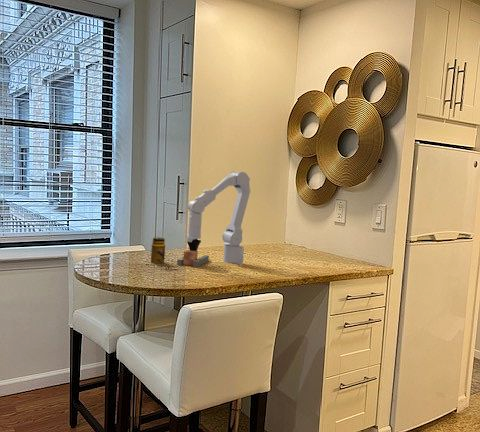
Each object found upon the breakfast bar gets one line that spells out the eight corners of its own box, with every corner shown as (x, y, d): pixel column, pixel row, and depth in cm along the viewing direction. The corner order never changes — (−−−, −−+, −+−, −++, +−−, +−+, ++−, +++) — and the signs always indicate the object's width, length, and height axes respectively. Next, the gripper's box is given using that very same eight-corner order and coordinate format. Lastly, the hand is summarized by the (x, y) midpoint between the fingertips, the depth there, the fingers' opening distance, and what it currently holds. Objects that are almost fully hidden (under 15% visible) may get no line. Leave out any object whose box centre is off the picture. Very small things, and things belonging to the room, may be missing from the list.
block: (196, 263, 221) (197, 250, 221) (193, 265, 217) (194, 252, 216) (186, 262, 222) (187, 249, 222) (183, 264, 218) (183, 251, 217)
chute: (208, 262, 232) (208, 255, 232) (197, 268, 215) (197, 261, 214) (189, 259, 234) (189, 253, 234) (176, 266, 217) (177, 259, 216)
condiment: (164, 266, 216) (166, 239, 215) (145, 265, 214) (146, 238, 213) (165, 263, 223) (166, 237, 222) (146, 262, 222) (147, 236, 221)
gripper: (191, 224, 230) (189, 252, 231) (181, 227, 216) (179, 257, 217) (205, 225, 228) (203, 253, 229) (196, 228, 214) (194, 258, 215)
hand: (193, 255), depth 223 cm, fingers closed
